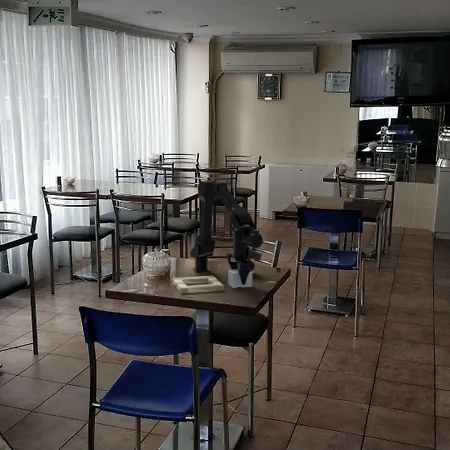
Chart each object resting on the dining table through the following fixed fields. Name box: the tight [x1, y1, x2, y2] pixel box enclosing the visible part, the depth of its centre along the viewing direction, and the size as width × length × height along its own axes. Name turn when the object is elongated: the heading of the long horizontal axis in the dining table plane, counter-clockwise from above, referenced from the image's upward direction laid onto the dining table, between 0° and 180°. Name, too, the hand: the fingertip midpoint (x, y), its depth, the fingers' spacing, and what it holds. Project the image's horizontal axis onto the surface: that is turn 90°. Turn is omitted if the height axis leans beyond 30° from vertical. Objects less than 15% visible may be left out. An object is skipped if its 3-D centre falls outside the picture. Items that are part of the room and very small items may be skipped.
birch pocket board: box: [171, 275, 225, 294], centre depth 239 cm, size 15×17×2 cm
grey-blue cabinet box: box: [227, 269, 253, 289], centre depth 242 cm, size 6×8×6 cm
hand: (239, 281), depth 242 cm, fingers open, 9 cm apart
